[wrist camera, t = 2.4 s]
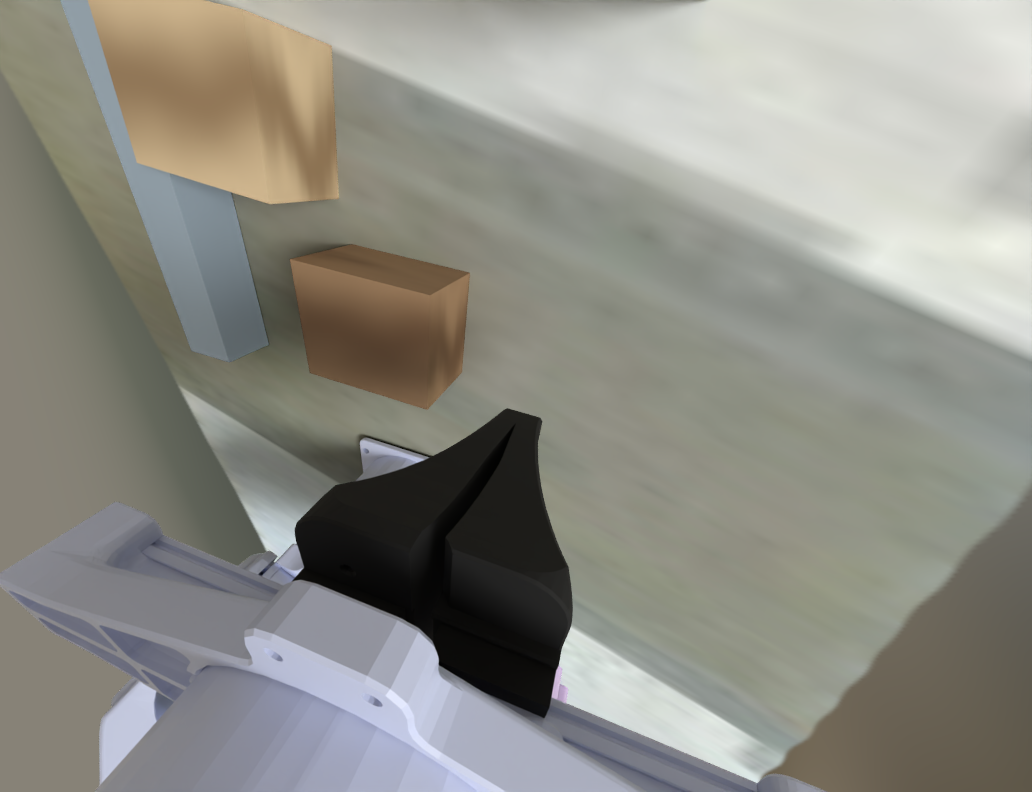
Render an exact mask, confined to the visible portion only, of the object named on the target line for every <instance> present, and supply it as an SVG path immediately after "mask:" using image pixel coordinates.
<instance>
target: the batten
mask: <svg viewBox="0 0 1032 792" xmlns="http://www.w3.org/2000/svg"><path fill="white" fill-rule="evenodd" d="M60 1H61V4H62V6H63V9H64V12H65V14H66V17H67V20H68V22H69V25H70V28H71V30H72V33H73V36H74V38H75V41H76V44H77V46H78V49H79V52H80V54H81V57H82V60H83V62H84V65H85V68H86V70H87V73H88V76H89V78H90V81H91V84H92V86H93V89H94V92H95V94H96V97H97V100H98V102H99V105H100V108H101V110H102V113H103V116H104V118H105V121H106V124H107V126H108V129H109V132H110V134H111V137H112V140H113V142H114V145H115V148H116V150H117V153H118V156H119V158H120V161H121V164H122V166H123V169H124V172H125V174H126V177H127V180H128V182H129V185H130V188H131V190H132V193H133V196H134V199H135V201H136V204H137V207H138V209H139V212H140V215H141V217H142V220H143V223H144V225H145V228H146V231H147V233H148V236H149V239H150V241H151V244H152V247H153V249H154V252H155V255H156V257H157V260H158V263H159V265H160V268H161V271H162V273H163V276H164V279H165V281H166V284H167V287H168V289H169V292H170V295H171V297H172V300H173V303H174V305H175V308H176V311H177V313H178V316H179V319H180V321H181V324H182V327H183V329H184V332H185V335H186V337H187V340H188V343H189V345H190V348H191V351H193V352H197V353H200V354H203V355H206V356H210V357H213V358H216V359H220V360H223V361H226V362H232V361H234V360H236V359H238V358H241V357H243V356H245V355H247V354H249V353H252V352H254V351H256V350H258V349H260V348H263V347H265V346H267V345H269V343H268V339H267V335H266V331H265V327H264V323H263V319H262V315H261V311H260V307H259V303H258V299H257V295H256V291H255V287H254V283H253V279H252V274H251V270H250V266H249V262H248V258H247V254H246V250H245V246H244V242H243V238H242V234H241V230H240V226H239V222H238V218H237V214H236V210H235V206H234V202H233V198H232V194H231V192H229V191H226V190H223V189H219V188H216V187H213V186H210V185H207V184H203V183H200V182H197V181H194V180H191V179H187V178H184V177H181V176H178V175H174V174H171V173H168V172H165V171H162V170H158V169H155V168H152V167H149V166H145V165H142V164H139V163H137V161H136V158H135V155H134V151H133V148H132V145H131V141H130V138H129V135H128V131H127V128H126V125H125V122H124V118H123V115H122V112H121V108H120V105H119V102H118V98H117V95H116V92H115V89H114V85H113V82H112V79H111V75H110V72H109V69H108V65H107V62H106V59H105V56H104V52H103V49H102V46H101V42H100V39H99V36H98V32H97V29H96V26H95V23H94V19H93V16H92V13H91V9H90V6H89V3H88V0H60Z"/></svg>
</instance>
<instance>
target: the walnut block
mask: <svg viewBox="0 0 1032 792" xmlns="http://www.w3.org/2000/svg"><path fill="white" fill-rule="evenodd" d="M290 263H291V268H292V274H293V280H294V285H295V291H296V297H297V303H298V308H299V314H300V320H301V325H302V331H303V337H304V342H305V348H306V354H307V360H308V365H309V371H310V373H312V374H315V375H318V376H321V377H325V378H328V379H331V380H334V381H337V382H340V383H344V384H347V385H350V386H353V387H356V388H360V389H363V390H366V391H369V392H372V393H376V394H379V395H382V396H385V397H388V398H392V399H395V400H398V401H401V402H404V403H407V404H411V405H414V406H417V407H420V408H423V409H427V410H428V408H429V407H430V406H431V405H432V404H433V403H434V402H435V401H436V400H437V399H438V398H439V397H440V395H441V394H442V393H443V392H444V391H445V390H446V389H447V388H448V387H449V386H450V385H451V384H452V383H453V381H454V380H455V379H456V378H457V377H458V376H459V375H460V374H461V373H462V363H463V351H464V339H465V327H466V314H467V302H468V290H469V278H470V273H468V272H464V271H460V270H456V269H452V268H448V267H443V266H439V265H435V264H431V263H427V262H423V261H419V260H415V259H410V258H406V257H402V256H398V255H394V254H390V253H386V252H381V251H377V250H373V249H369V248H365V247H361V246H357V245H353V244H351V245H347V246H343V247H338V248H334V249H330V250H326V251H322V252H318V253H313V254H309V255H305V256H301V257H297V258H293V259H290Z"/></svg>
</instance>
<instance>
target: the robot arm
mask: <svg viewBox="0 0 1032 792" xmlns="http://www.w3.org/2000/svg"><path fill="white" fill-rule="evenodd" d="M541 425H542V420H541V419H540V418H539V417H536V416H532V415H529V414H525V413H522V412H518V411H515V410H511V409H508V408H507V409H505V410H503V411H502V412H501V413H500V414H498V415H497V416H496V417H495V418H493V419H492V420H491V421H489V422H488V423H487V424H485V425H484V426H482V427H481V428H480V429H478V430H477V431H475V432H474V433H472V434H471V435H469V436H468V437H466V438H465V439H463V440H461V441H460V442H458V443H456V444H455V445H453V446H451V447H449V448H448V449H446V450H444V451H442V452H440V453H438V454H436V455H434V456H432V457H430V458H429V457H426V456H423V455H420V454H417V453H414V452H411V451H407V450H404V449H401V448H398V447H395V446H392V445H389V444H386V443H383V442H379V441H376V440H373V439H370V438H366V437H365V438H363V439H362V440H361V441H360V450H361V458H362V466H363V474H362V475H361V476H360V477H359V478H358V479H357V480H356V481H354V482H350V483H345V484H340V485H335V486H334V487H333V488H332V489H331V490H330V491H329V492H327V493H326V494H325V495H324V496H323V497H322V498H321V499H320V500H319V501H318V502H317V503H316V504H315V505H314V506H313V507H312V508H311V509H310V510H309V511H308V512H307V513H306V514H305V515H304V516H303V517H302V518H301V519H300V520H299V521H298V522H297V524H296V527H295V537H296V542H297V544H292V545H291V546H290V547H289V548H288V549H287V551H286V552H285V553H284V554H283V555H282V556H281V557H280V558H279V559H278V560H277V561H276V562H274V561H275V559H276V558H277V557H278V556H277V555H275V554H274V553H273V552H271V551H267V552H265V553H263V554H262V553H260V554H255V555H251V556H250V557H248V558H247V559H246V560H244V561H243V562H242V563H241V564H240V565H238V566H236V565H234V564H231V563H229V562H227V561H224V560H222V559H219V558H217V557H215V556H212V555H210V554H208V553H205V552H203V551H200V550H198V549H196V548H193V547H191V546H188V545H186V544H183V543H181V542H179V541H177V540H174V539H172V538H169V537H167V536H165V535H163V532H162V529H161V527H160V526H159V524H158V523H157V522H156V520H155V519H154V518H153V517H151V516H150V515H148V514H147V513H145V512H142V511H140V510H138V509H135V508H133V507H130V506H128V505H125V504H123V503H120V502H114V503H112V504H111V505H109V506H107V507H106V508H104V509H103V510H101V511H99V512H98V513H96V514H94V515H93V516H91V517H90V518H88V519H86V520H85V521H83V522H82V523H80V524H78V525H77V526H75V527H73V528H72V529H70V530H69V531H67V532H65V533H64V534H63V535H61V536H59V537H57V538H56V539H54V540H53V541H51V542H49V543H48V544H46V545H44V546H43V547H41V548H40V549H38V550H36V551H35V552H33V553H31V554H30V555H28V556H27V557H25V558H23V559H22V560H20V561H19V562H17V563H15V564H14V565H12V566H11V567H9V568H7V569H6V570H4V571H2V572H1V573H0V587H1V588H3V589H4V590H5V591H6V592H7V593H8V594H9V595H10V596H11V597H13V598H14V599H15V600H16V601H17V602H18V603H19V604H20V605H21V606H23V607H24V608H25V609H26V610H27V611H28V612H29V613H30V614H32V615H33V616H34V617H35V618H36V619H37V620H38V621H39V622H40V623H41V624H42V625H44V626H45V627H46V628H47V629H48V630H49V631H50V632H52V633H54V634H56V635H58V636H59V637H62V638H63V639H65V640H67V641H69V642H71V643H73V644H75V645H77V646H78V647H80V648H82V649H84V650H86V651H88V652H89V653H91V654H93V655H95V656H97V657H98V658H100V659H102V660H104V661H106V662H107V663H109V664H111V665H112V666H114V667H116V668H118V669H119V670H121V671H123V672H125V673H126V674H128V675H130V676H131V677H132V678H131V679H130V680H129V681H128V682H127V683H126V684H125V685H124V687H123V688H122V689H121V690H120V691H119V692H118V693H117V694H116V695H115V696H114V697H113V699H112V704H111V705H112V708H111V709H110V710H109V711H108V712H107V713H106V714H105V715H104V716H103V717H102V720H101V723H100V732H99V757H100V758H99V762H100V786H99V787H98V788H97V789H96V790H95V791H94V792H827V791H824V790H822V789H819V788H817V787H814V786H812V785H809V784H807V783H805V782H802V781H800V780H797V779H795V778H792V777H789V776H785V775H781V774H770V775H767V776H765V777H763V778H762V779H761V780H760V781H759V782H758V783H755V782H753V781H751V780H748V779H746V778H743V777H741V776H739V775H736V774H734V773H731V772H729V771H727V770H724V769H722V768H720V767H717V766H715V765H712V764H710V763H708V762H705V761H703V760H700V759H698V758H696V757H693V756H691V755H688V754H686V753H684V752H681V751H679V750H676V749H674V748H672V747H669V746H667V745H664V744H662V743H660V742H657V741H655V740H653V739H650V738H648V737H645V736H643V735H641V734H638V733H636V732H633V731H631V730H629V729H626V728H624V727H621V726H619V725H617V724H614V723H612V722H609V721H607V720H605V719H602V718H600V717H598V716H595V715H593V714H590V713H588V712H586V711H583V710H581V709H578V708H576V707H574V706H571V705H569V704H566V703H564V702H562V701H559V700H557V699H554V698H552V692H553V686H554V681H555V675H556V670H557V668H558V665H559V660H560V655H561V649H562V646H563V644H564V642H565V639H566V637H567V635H568V632H569V630H570V627H571V623H572V611H573V605H572V591H571V582H570V575H569V568H568V565H567V563H566V561H565V559H564V557H563V555H562V552H561V550H560V548H559V545H558V543H557V540H556V537H555V535H554V532H553V529H552V526H551V523H550V520H549V516H548V513H547V510H546V506H545V502H544V498H543V493H542V488H541V482H540V475H539V466H538V439H539V435H540V430H541Z"/></svg>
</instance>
